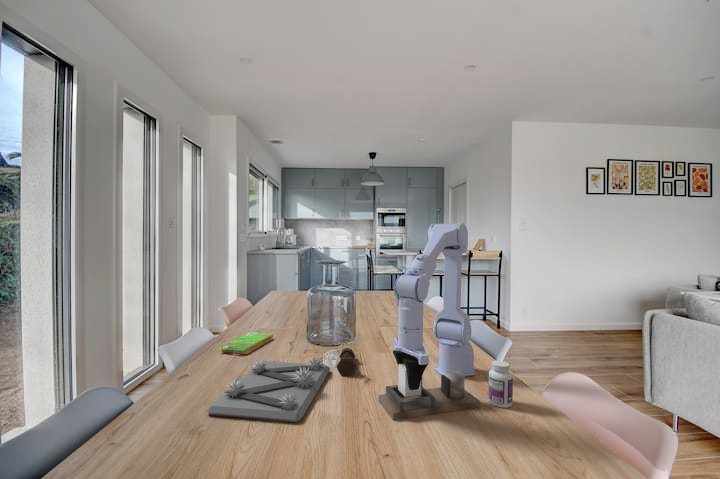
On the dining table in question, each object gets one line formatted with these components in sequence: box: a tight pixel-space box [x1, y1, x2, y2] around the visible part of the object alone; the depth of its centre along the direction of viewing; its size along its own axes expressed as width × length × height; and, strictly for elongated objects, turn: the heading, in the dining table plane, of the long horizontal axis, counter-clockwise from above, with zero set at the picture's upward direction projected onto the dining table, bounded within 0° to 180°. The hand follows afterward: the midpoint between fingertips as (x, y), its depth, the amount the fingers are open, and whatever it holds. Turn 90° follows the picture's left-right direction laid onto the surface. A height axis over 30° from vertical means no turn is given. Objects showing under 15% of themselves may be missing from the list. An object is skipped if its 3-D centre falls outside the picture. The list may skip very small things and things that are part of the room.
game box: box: [218, 332, 274, 355], centre depth 126 cm, size 3×10×20 cm
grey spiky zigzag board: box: [206, 354, 331, 423], centre depth 89 cm, size 30×22×7 cm
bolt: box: [335, 347, 358, 377], centre depth 107 cm, size 6×5×15 cm
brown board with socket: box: [378, 370, 481, 421], centre depth 83 cm, size 22×9×6 cm, turn 107°
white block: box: [397, 364, 423, 397], centre depth 82 cm, size 4×4×6 cm
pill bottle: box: [488, 360, 514, 409], centre depth 84 cm, size 5×5×10 cm
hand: (409, 385), depth 82 cm, fingers closed on white block, 4 cm apart
